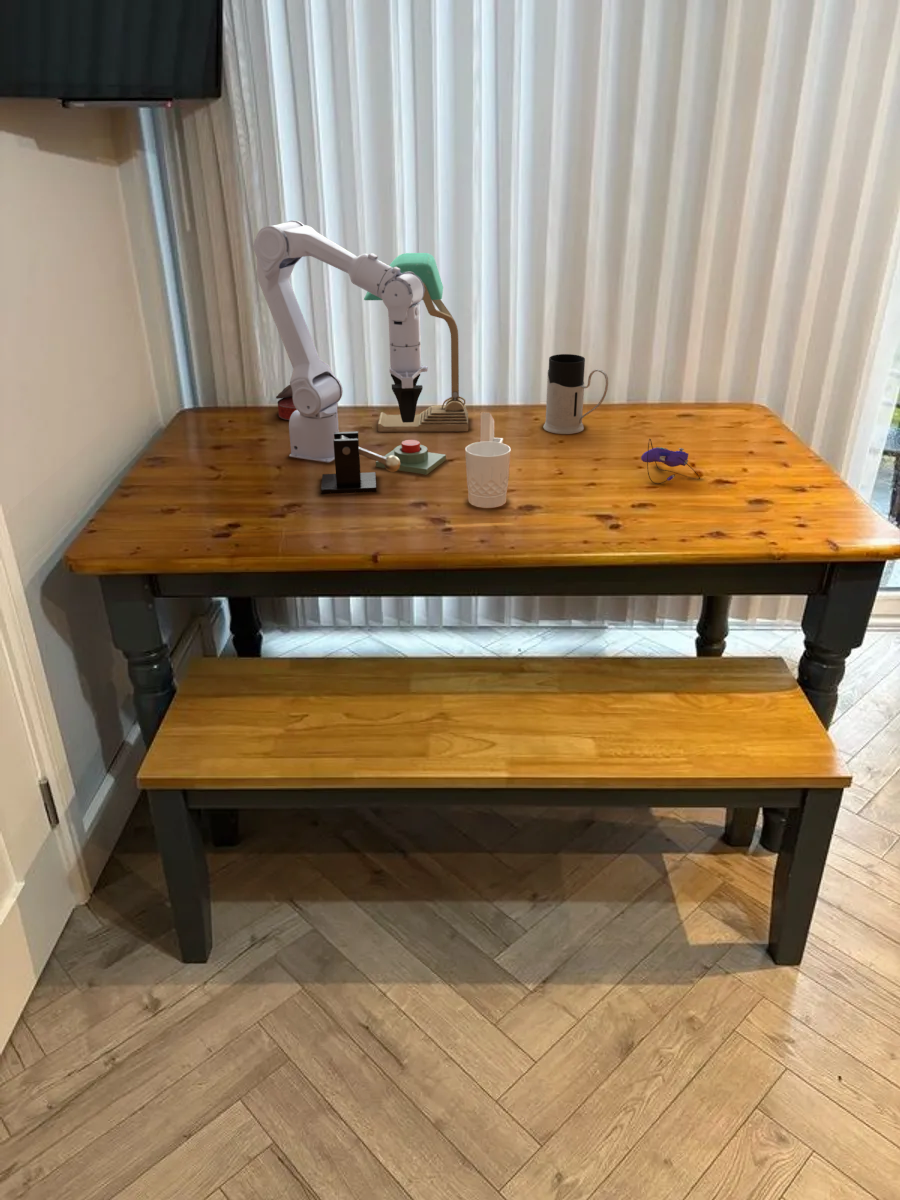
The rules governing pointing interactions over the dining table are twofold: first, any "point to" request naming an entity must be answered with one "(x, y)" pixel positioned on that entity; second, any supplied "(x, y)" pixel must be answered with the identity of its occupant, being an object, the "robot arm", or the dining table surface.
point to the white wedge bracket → (487, 428)
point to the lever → (380, 458)
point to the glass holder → (567, 394)
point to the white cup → (487, 473)
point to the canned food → (286, 403)
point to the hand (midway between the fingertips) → (407, 415)
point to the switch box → (416, 460)
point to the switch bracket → (347, 468)
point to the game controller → (666, 458)
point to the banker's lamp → (454, 410)
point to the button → (410, 446)
